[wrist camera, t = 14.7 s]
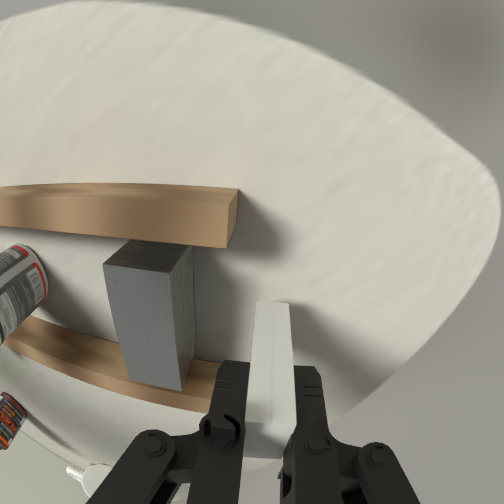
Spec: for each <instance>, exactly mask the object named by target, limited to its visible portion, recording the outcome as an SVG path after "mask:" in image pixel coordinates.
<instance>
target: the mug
mask: <svg viewBox="0 0 504 504" xmlns="http://www.w3.org/2000/svg"><path fill="white" fill-rule="evenodd" d="M112 468H113V467H111V466H108V465H103V464H97V465H93V466H90V467H89V468H87V469H86V470H85V471H84V472H82V471H80V470H78V469H76V468H73V467H70V466H68V467H67V469H66V471H67V473H68V474H69V475H71V476H72V477H73V478H75V479H77V480H78V481H80V482H81V483H82V486H83V489H84V491H85V492H86V494H87V495H88V496H89V497H91V496H92V495H93V493H94V492H95V491H96V489H97V488H98V487H99V486H100V484H101V483H102V482H103V480H104V479H105V478H106V476H107V475H108V474H109V472H110V471H111V470H112Z"/></svg>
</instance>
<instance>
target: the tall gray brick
mask: <svg viewBox="0 0 504 504" xmlns="http://www.w3.org/2000/svg"><path fill="white" fill-rule="evenodd" d="M103 270H104V276H105V282H106V287H107V293H108V298H109V303H110V307H111V312H112V316H113V321H114V325H115V329H116V333H117V337H118V341H119V345H120V348H121V352H122V355H123V359H124V362H125V366H126V369H127V372H128V375H129V378H130V380H134V381H138V382H142V383H146V384H150V385H154V386H158V387H163V388H168V389H172V390H177V391H182V390H183V387H184V383H185V380H186V377H187V374H188V371H189V368H190V365H191V362H192V359H193V356H194V353H195V350H196V339H195V315H194V276H193V245H186V244H176V243H166V242H156V241H147V240H137V239H131V240H130V241H129V242H127V243H126V244H125V245H124V246H123V247H121V248H120V249H119V250H118V251H117V252H116V253H114V254H113V255H112V256H111V257H110V258H109V259H108V260H106V261H105V262H104V263H103Z"/></svg>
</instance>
